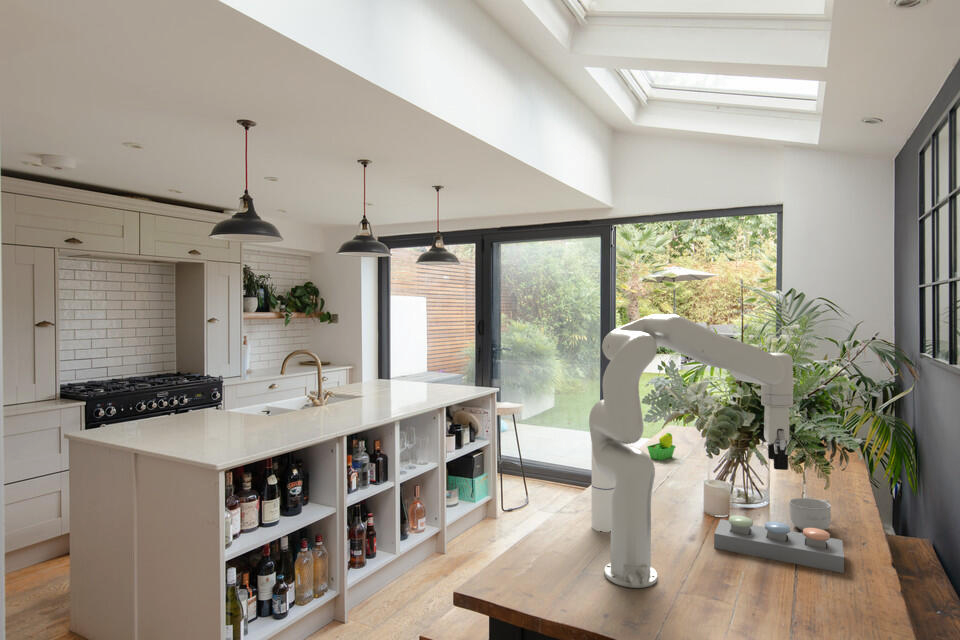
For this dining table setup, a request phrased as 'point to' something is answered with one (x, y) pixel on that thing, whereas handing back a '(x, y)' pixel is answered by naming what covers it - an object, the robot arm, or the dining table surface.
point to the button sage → (740, 524)
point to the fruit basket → (662, 448)
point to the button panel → (780, 547)
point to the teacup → (810, 513)
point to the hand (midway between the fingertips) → (777, 464)
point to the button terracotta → (816, 537)
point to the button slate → (777, 530)
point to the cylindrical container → (601, 499)
